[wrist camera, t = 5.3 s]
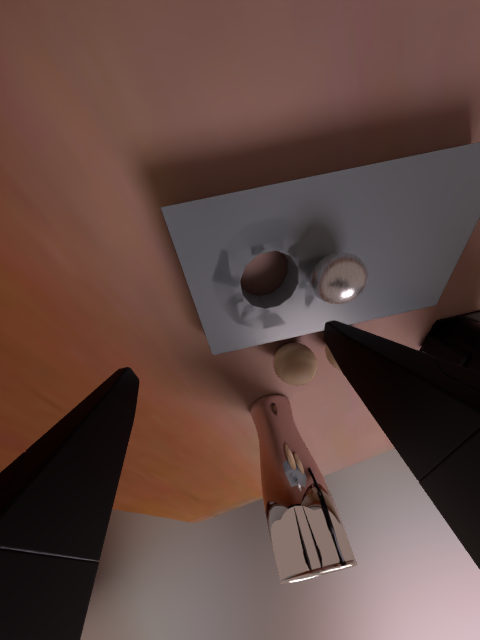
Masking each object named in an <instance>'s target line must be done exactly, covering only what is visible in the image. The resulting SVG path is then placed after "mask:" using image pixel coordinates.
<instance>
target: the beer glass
mask: <svg viewBox="0 0 480 640" xmlns="http://www.w3.org/2000/svg"><path fill="white" fill-rule="evenodd" d="M250 413H251V416H252V419H253V422H254V424H255V427H256V430H257V434H258V439H259V448H260V467H261V483H262V493H263V500H264V507H265V514H266V519H267V524H268V529H269V533H270V538H271V542H272V547H273V551H274V555H275V559H276V563H277V567H278V571H279V576H280V583H281V584H287V583H292V582H296V581H300V580H305V579H308V578H312V577H317V576H320V575H324V574H328V573H331V572H335V571H339V570H343V569H346V568H350V567H353V566H356V565H357V562H356V560H355V558H354V555H353V552H352V550H351V547H350V544H349V541H348V539H347V535H346V533H345V530H344V527H343V524H342V521H341V519H340V516H339V513H338V510H337V508H336V505H335V503H334V500H333V498H332V495H331V493H330V491H329V489H328V486H327V484H326V482H325V479H324V477H323V475H322V474H321V472H320V470H319V468H318V466H317V464H316V462H315V460H314V459H313V457H312V455H311V453H310V452H309V450H308V448H307V446H306V445H305V443H304V441H303V439H302V437H301V436H300V434H299V432H298V430H297V427H296V425H295V422H294V419H293V415H292V410H291V405H290V402H289V400H288V399H287V398H286V397H285V396H282V395H268V396H265V397H262V398H260V399H258V400H257V401H255V402H254V403H253V405H252V406H251V409H250Z"/></svg>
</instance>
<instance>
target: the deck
mask: <svg viewBox="0 0 480 640" xmlns="http://www.w3.org/2000/svg"><path fill="white" fill-rule="evenodd" d="M161 210H162V213H163V215H164V218H165V221H166V224H167V227H168V230H169V232H170V235H171V238H172V241H173V244H174V247H175V249H176V252H177V255H178V258H179V261H180V264H181V267H182V269H183V272H184V275H185V278H186V281H187V284H188V286H189V289H190V292H191V295H192V298H193V301H194V303H195V306H196V309H197V312H198V315H199V318H200V320H201V323H202V326H203V329H204V332H205V335H206V337H207V340H208V343H209V346H210V349H211V352H212V355H216V354H221V353H225V352H229V351H234V350H238V349H243V348H247V347H252V346H256V345H261V344H265V343H270V342H274V341H279V340H283V339H287V338H292V337H296V336H301V335H305V334H310V333H314V332H319V331H323V330H324V326H325V323H326V322H328V321H332V320H336V321H339V322H342V323H344V324H347V325H350V324H354V323H359V322H363V321H368V320H372V319H377V318H381V317H386V316H390V315H395V314H399V313H403V312H408V311H412V310H417V309H421V308H426V307H430V306H435V305H437V303H438V301H439V299H440V297H441V295H442V293H443V291H444V289H445V287H446V285H447V283H448V281H449V279H450V277H451V275H452V273H453V270H454V268H455V266H456V264H457V262H458V260H459V258H460V256H461V254H462V252H463V250H464V248H465V246H466V244H467V242H468V240H469V238H470V236H471V234H472V232H473V230H474V228H475V226H476V224H477V222H478V220H479V218H480V142H477V143H472V144H468V145H463V146H458V147H453V148H448V149H443V150H438V151H433V152H429V153H424V154H419V155H414V156H409V157H404V158H399V159H394V160H390V161H385V162H380V163H375V164H370V165H365V166H360V167H355V168H351V169H346V170H341V171H336V172H331V173H326V174H321V175H316V176H312V177H307V178H302V179H297V180H292V181H287V182H282V183H277V184H273V185H268V186H263V187H258V188H253V189H248V190H243V191H238V192H234V193H229V194H224V195H219V196H214V197H209V198H204V199H199V200H195V201H190V202H185V203H180V204H175V205H170V206H165V207H161ZM271 251H279V252H281V253H283V254H284V256H285V257H286V259H287V275H286V277H285V279H284V281H283V283H282V285H281V286H280V287H278V288H277V289H276V290H275V291H273V292H272V293H270V294H266V295H261V296H256V295H253V294H250V293H247V292H246V291H245V290H244V289H243V288H242V287H241V284H240V280H241V277H242V274H243V272H244V269H245V266H246V265H247V264H248V263H249V262H251V261H252V260H253V259H254V258H255V257H256V256H257V255H259V254H262V253H266V252H271ZM338 252H346V253H351V254H354V255H356V256H357V257H359V258H360V259H361V260H362V261H363V262H364V264H365V265H366V268H367V271H368V280H367V284H366V286H365V288H364V290H363V291H362V293H361V294H360V295H359V296H358V297H356V298H355V299H354V300H352V301H350V302H347V303H344V304H336V305H335V304H328V303H325V302H323V301H321V300H320V299H318V298H317V297H316V296H315V294H314V293H313V291H312V289H311V285H310V276H311V273H312V270H313V268H314V267H315V265H316V264H317V263H318V262H319V261H320V260H321V259H323V258H324V257H326V256H328V255H330V254H333V253H338Z"/></svg>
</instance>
